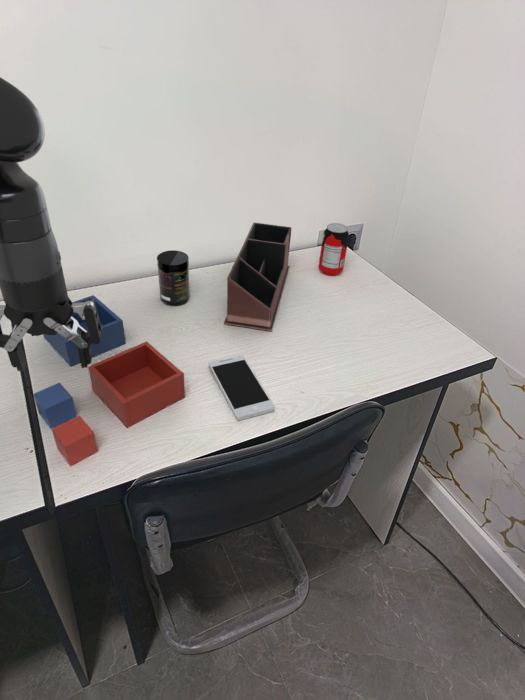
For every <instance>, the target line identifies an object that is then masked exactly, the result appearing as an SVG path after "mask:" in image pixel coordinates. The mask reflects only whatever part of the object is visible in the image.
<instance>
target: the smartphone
mask: <svg viewBox="0 0 525 700" xmlns="http://www.w3.org/2000/svg"><path fill="white" fill-rule="evenodd" d="M208 368H209V370H210V372H211V374H212V376H213V378H214V379H215V381H216V384H217V385H218V388H219V389H220V391H221V393H222V395H223V397H224V399H225V401H226V403H227V405H228V406H229V408H230V411H231V412H232V414H233V416H234V418H235V419H236V421H242V420H246V419H249V418H253V417H257V416H260V415H264V414H268V413H272V412H275V404H274V403H273V401H272V400H271V398H270V396H269V395H268V393H267V391H266V390H265V388H264V386H263V385H262V383H261V381H260V380H259V379H258V376H257V375H256V374H255V372H254V371H253V369H252V367H251V366H250V364H249V362H248V361H247V359H246V358H245V356H244V355H242V354H241V355H240V354H239V355H236V356H232V357H226V358H222V359H217V360H213V361H208Z"/></svg>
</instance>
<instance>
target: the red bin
mask: <svg viewBox="0 0 525 700" xmlns="http://www.w3.org/2000/svg"><path fill="white" fill-rule="evenodd" d="M87 369H88V375H89V379H90V383H91V388H92V391H93V392H94V394H95V395H96V396H97V397H98V398H99V399H100V400H101V401H102V402H103V404H105V406H106V407H107V408H108V409H109V410H110V411H111V412H112V413H113V414H114V415H115V417H116V418H117V419H118V420H119V421H120V422H121V423H122V425H124V426H125V428H127V429H129V428H130V427H132V426H133V425H136V424H138V423H139V422H141V421H143V420H145V419H147V418H149V417H151V416H153V415H155V414H157V413H158V412H160V411H162V410H164V409H166V408H168V407H170V406H172V405H173V404H176V403H178V402H179V401H181V400H183V399H184V398H186V390H185V387H186V386H185V373H184V372H183V371H182V370H180V369H179V368H178V367H177V366H176V365H175V364H173V362H172V361H170V360H169V359H168V358H167V357H166V356H164V355H163V354H162V353H161V352H160V351H159V350H158V349H157V348H155V347H154V346H153V345H152V344H151V343H149V342H148V340H146V341H144V342H142V343H140V344H137V345H135V346H132V347H130V348H128V349H125V350H123V351H121V352H118V353H116V354H114V355H111V356H110V357H107V358H104V359H103V360H100V361H97V362H96V363H93V364H90V365H88V366H87Z"/></svg>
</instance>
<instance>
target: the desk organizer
mask: <svg viewBox="0 0 525 700" xmlns="http://www.w3.org/2000/svg"><path fill="white" fill-rule="evenodd" d="M291 236H292V227H291V226H283V225H277V224H269V223H261V222H252V225H251V226H250V229H249V231H248V233H247V235H246V237H245V240H244V242H243V244H242V246H241V248H240V250H239V252H238V254H237V257H236V258H235V260H234V262H233V265H232V267H231V269H230V270H229V273H228V276H227V277H226V284H227V285H226V286H227V287H226V317H225V319H224V322H223V324H224V325H229V326H236V327H242V328H249V329H256V330H262V331H268V332H272V331H273V327H274V323H275V320H276V317H277V313H278V309H279V306H280V302H281V299H282V295H283V291H284V287H285V284H286V281H287V277H288V274H289V270H290V265H289V256H290V247H291V246H290V245H291V239H292V237H291Z"/></svg>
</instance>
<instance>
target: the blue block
mask: <svg viewBox="0 0 525 700" xmlns="http://www.w3.org/2000/svg"><path fill="white" fill-rule="evenodd" d="M32 395H33V399H34V403H35V406H36V407H37V412H38V414H39V416H40V417H41V418H42V419H43V421H44V422H45V424H46V425H47V426H48V427H49V429H51V430H52V429H53V428H55V427H57V426H59V425H61V424H63V423H65V422H67V421H69V420H71V419H73V418H75V417H78V415H77V410H76V407H75V403H74V399H73V396H72V395H71V394H70V392H69V391H68V390H67V389H66V388H65V387H64V386H63V384H62V383H61V382H58V383H55V384H52V385H50V386H48V387H46V388H44V389H42V390H39V391H37V392H35V393H33V394H32Z"/></svg>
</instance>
